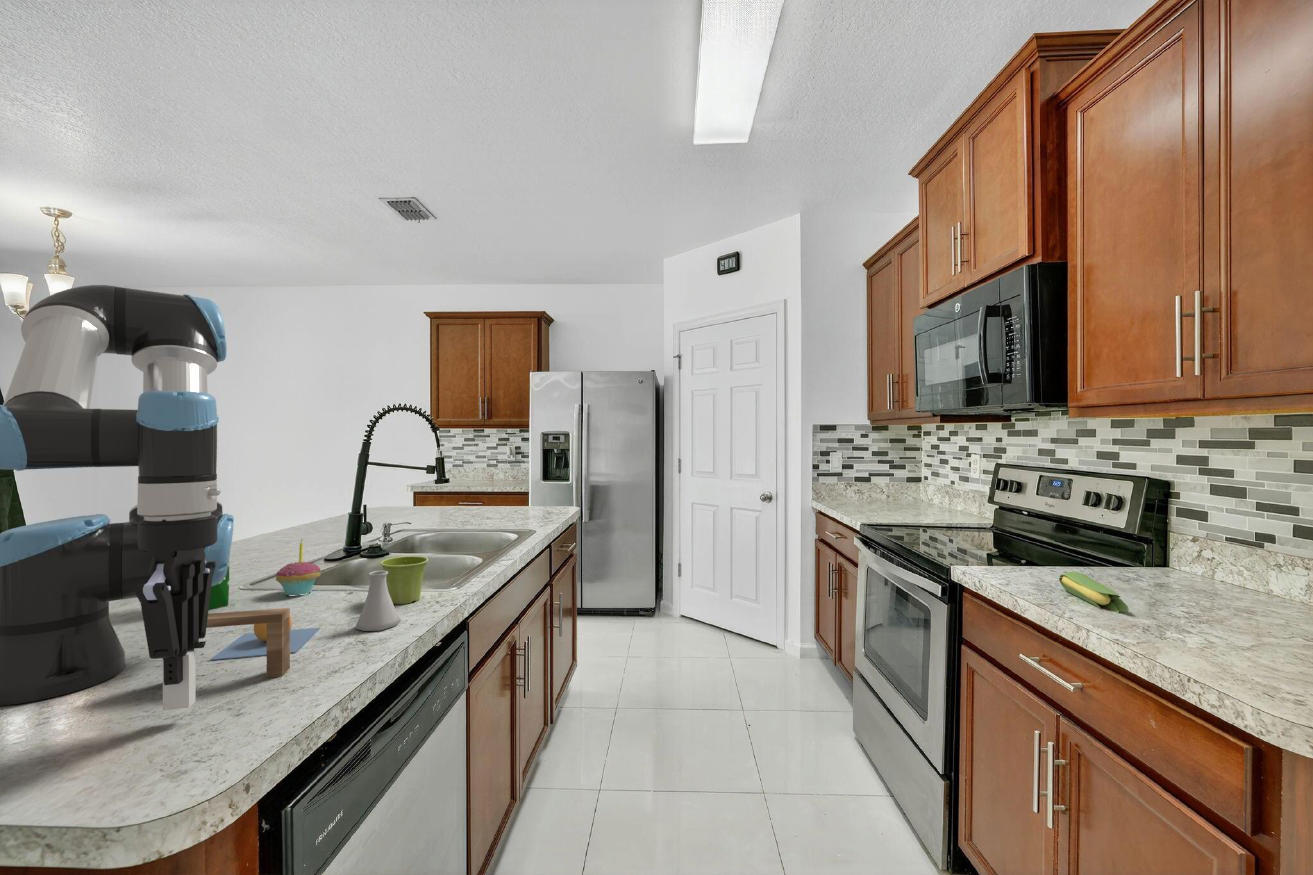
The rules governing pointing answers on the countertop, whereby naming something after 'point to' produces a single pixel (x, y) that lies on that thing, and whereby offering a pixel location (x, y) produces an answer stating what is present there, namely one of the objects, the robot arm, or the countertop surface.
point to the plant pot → (404, 578)
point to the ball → (264, 630)
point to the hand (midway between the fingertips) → (179, 705)
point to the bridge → (276, 633)
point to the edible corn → (1092, 591)
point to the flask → (377, 605)
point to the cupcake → (298, 576)
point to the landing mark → (262, 645)
